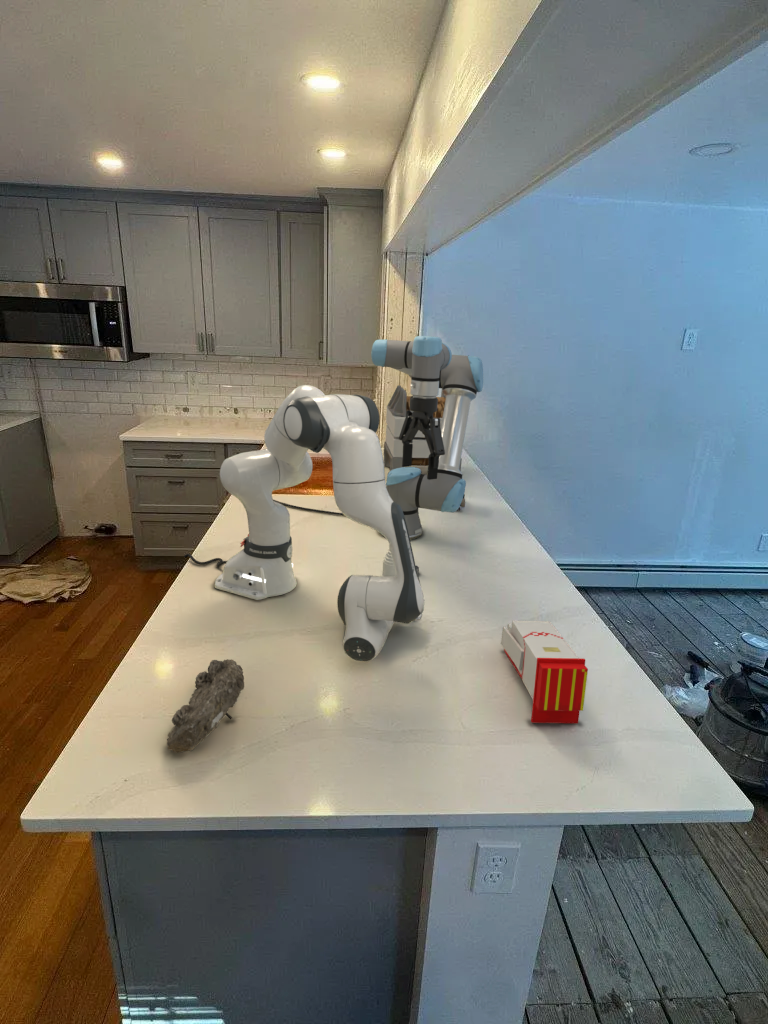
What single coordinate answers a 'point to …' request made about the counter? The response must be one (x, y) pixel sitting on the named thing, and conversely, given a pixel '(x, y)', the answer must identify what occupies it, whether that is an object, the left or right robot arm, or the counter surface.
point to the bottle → (388, 564)
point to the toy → (547, 670)
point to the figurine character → (462, 503)
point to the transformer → (393, 430)
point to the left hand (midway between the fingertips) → (389, 588)
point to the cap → (417, 569)
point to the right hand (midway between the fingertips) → (419, 472)
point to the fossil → (206, 705)
